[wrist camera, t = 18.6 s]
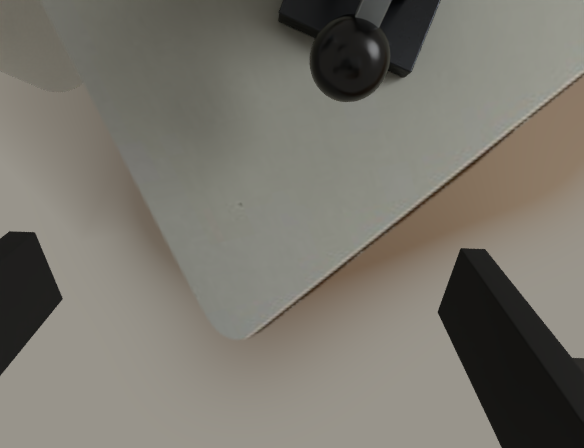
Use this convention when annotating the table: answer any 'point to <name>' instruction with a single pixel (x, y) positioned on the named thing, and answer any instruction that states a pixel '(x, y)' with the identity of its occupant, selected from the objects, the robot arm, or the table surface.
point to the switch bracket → (396, 24)
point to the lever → (352, 53)
